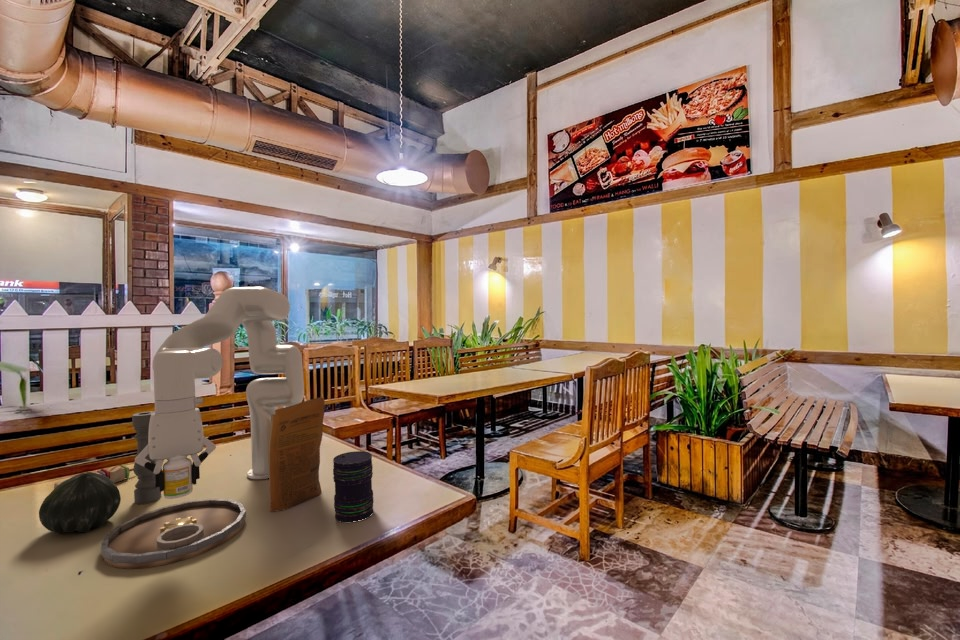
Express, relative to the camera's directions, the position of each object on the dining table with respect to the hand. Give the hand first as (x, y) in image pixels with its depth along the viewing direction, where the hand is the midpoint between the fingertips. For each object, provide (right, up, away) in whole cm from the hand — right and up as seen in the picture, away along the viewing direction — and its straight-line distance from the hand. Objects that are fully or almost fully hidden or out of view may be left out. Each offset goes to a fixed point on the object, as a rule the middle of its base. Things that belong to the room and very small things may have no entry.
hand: (178, 485), depth 99 cm
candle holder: (-28, -15, +28) cm, 43 cm away
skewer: (-52, -16, +40) cm, 68 cm away
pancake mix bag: (+17, -14, +25) cm, 33 cm away
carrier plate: (-5, -15, +7) cm, 17 cm away
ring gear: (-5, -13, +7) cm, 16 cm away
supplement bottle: (0, -2, 0) cm, 2 cm away
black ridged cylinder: (+35, -14, +16) cm, 41 cm away
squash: (-32, -15, +12) cm, 38 cm away
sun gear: (-5, -13, +7) cm, 16 cm away
